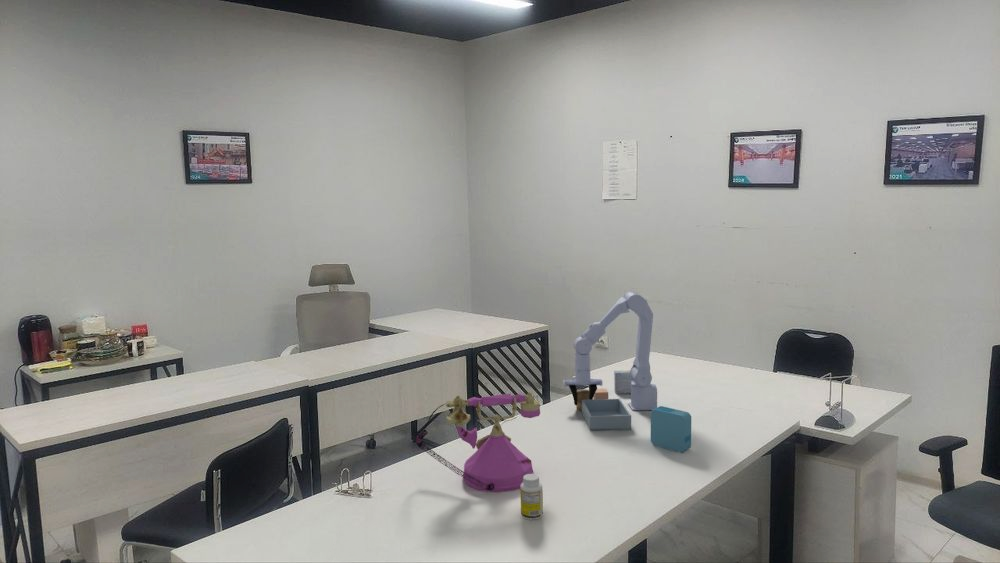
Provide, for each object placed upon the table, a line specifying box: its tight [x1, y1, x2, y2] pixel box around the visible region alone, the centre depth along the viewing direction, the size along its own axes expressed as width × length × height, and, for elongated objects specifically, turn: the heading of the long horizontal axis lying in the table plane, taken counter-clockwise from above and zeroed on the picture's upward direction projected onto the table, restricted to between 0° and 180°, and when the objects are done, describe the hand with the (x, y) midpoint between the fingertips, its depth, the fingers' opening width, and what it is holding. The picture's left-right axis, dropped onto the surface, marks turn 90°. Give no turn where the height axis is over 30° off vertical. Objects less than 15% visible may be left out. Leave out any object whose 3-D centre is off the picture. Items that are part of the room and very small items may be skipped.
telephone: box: [415, 391, 541, 493], centre depth 181 cm, size 36×22×25 cm, turn 100°
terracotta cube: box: [593, 388, 609, 399], centre depth 250 cm, size 5×5×5 cm
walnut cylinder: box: [575, 388, 590, 412], centre depth 243 cm, size 5×5×7 cm
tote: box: [581, 398, 632, 432], centre depth 229 cm, size 14×19×5 cm
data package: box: [650, 405, 692, 454], centre depth 203 cm, size 12×4×12 cm, turn 45°
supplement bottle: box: [519, 473, 544, 521], centre depth 161 cm, size 6×6×10 cm
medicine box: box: [613, 369, 633, 394], centre depth 263 cm, size 8×4×9 cm, turn 84°
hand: (583, 404), depth 243 cm, fingers closed on walnut cylinder, 5 cm apart
